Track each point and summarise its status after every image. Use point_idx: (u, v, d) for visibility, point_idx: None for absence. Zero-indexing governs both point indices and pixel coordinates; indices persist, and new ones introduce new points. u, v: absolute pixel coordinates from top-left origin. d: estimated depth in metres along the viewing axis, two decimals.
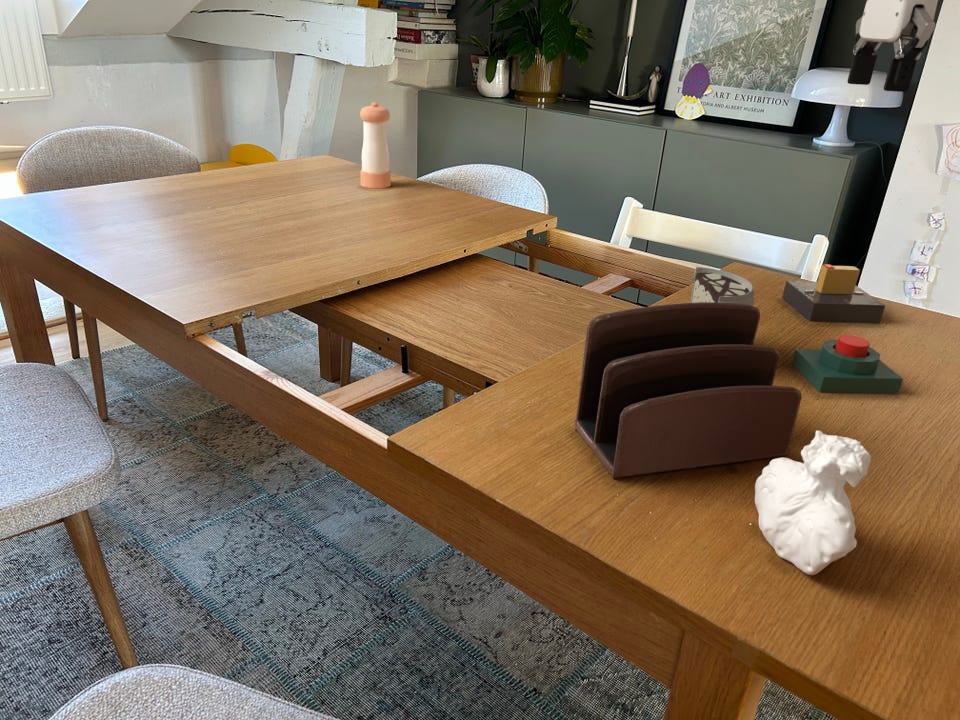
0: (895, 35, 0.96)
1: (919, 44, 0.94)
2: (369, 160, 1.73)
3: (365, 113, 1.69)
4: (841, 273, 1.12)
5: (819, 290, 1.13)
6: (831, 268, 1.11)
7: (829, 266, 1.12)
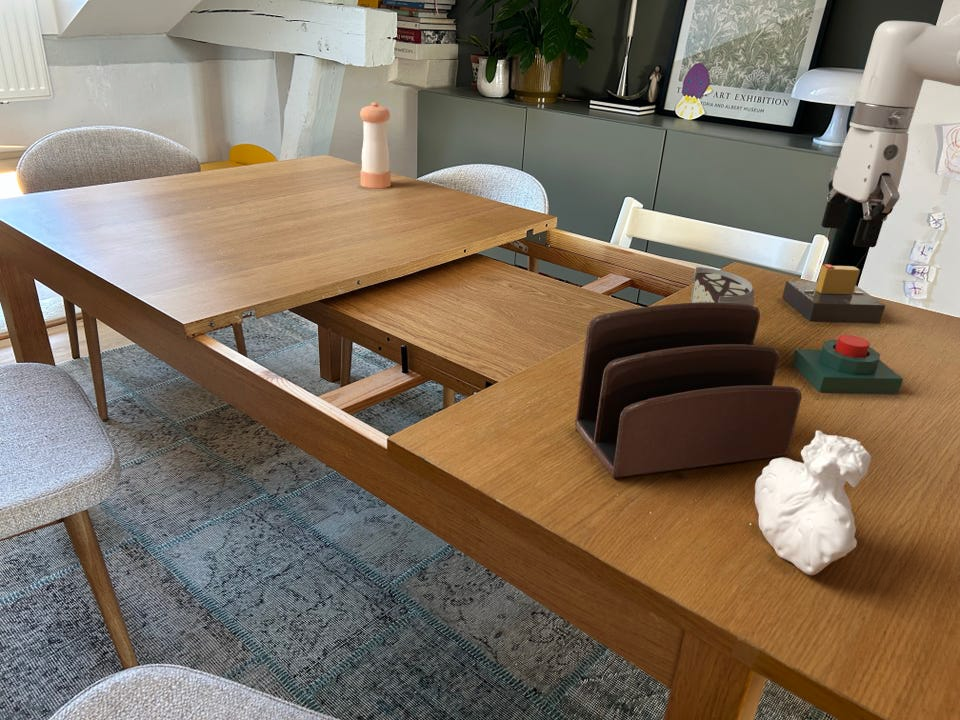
0: (863, 198, 1.03)
1: (885, 210, 1.01)
2: (369, 160, 1.73)
3: (365, 113, 1.69)
4: (841, 273, 1.12)
5: (819, 290, 1.13)
6: (831, 268, 1.11)
7: (829, 266, 1.12)
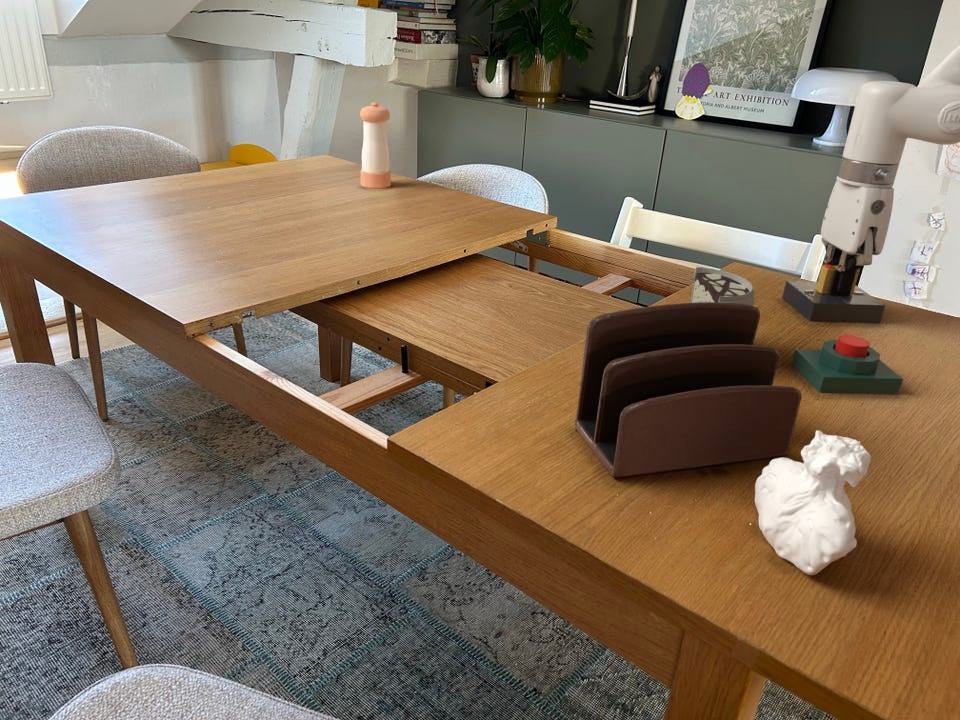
0: (852, 250, 1.06)
1: (856, 265, 1.08)
2: (369, 160, 1.73)
3: (365, 113, 1.69)
4: None
5: (819, 290, 1.13)
6: (831, 268, 1.11)
7: (829, 266, 1.12)
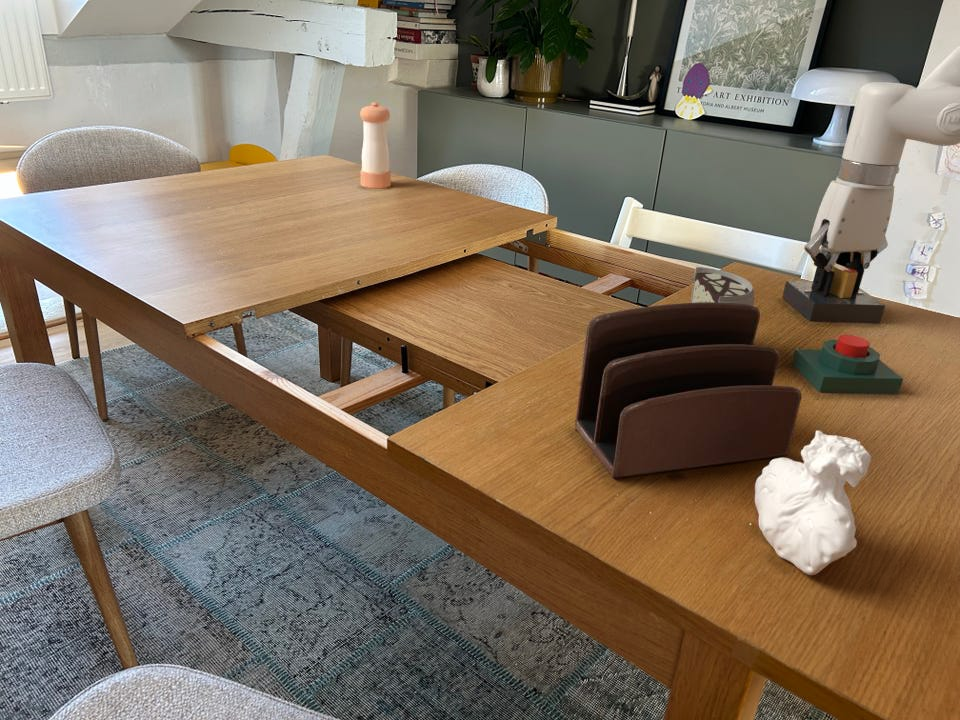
0: (880, 245, 1.10)
1: None
2: (369, 160, 1.73)
3: (365, 113, 1.69)
4: None
5: (848, 295, 1.12)
6: None
7: (852, 270, 1.10)
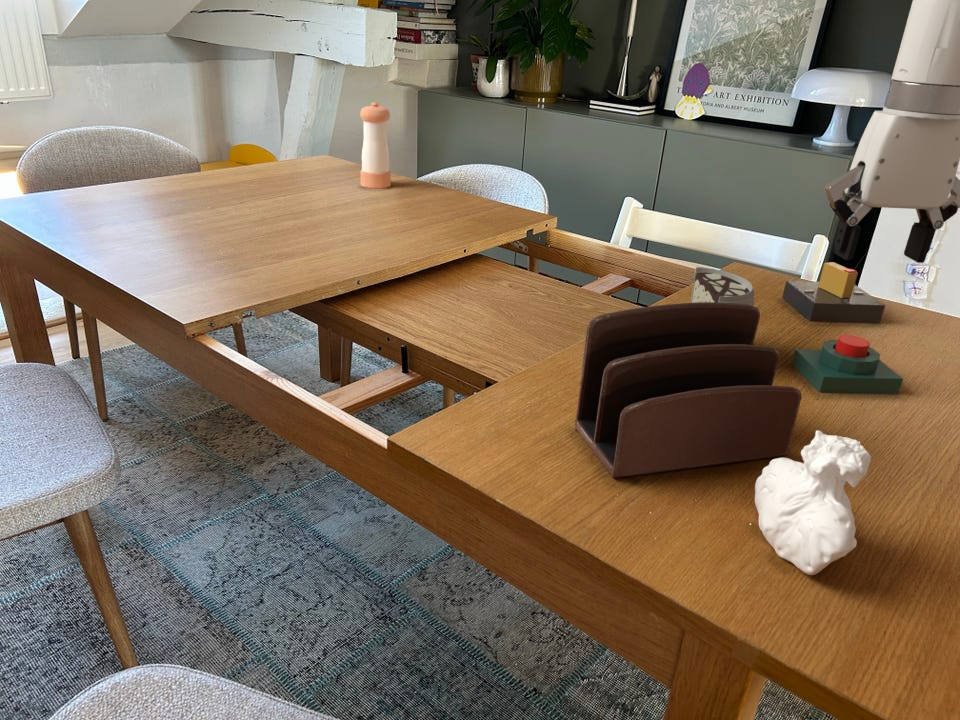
0: (944, 202, 0.82)
1: None
2: (369, 160, 1.73)
3: (365, 113, 1.69)
4: None
5: (848, 295, 1.12)
6: None
7: (852, 270, 1.10)
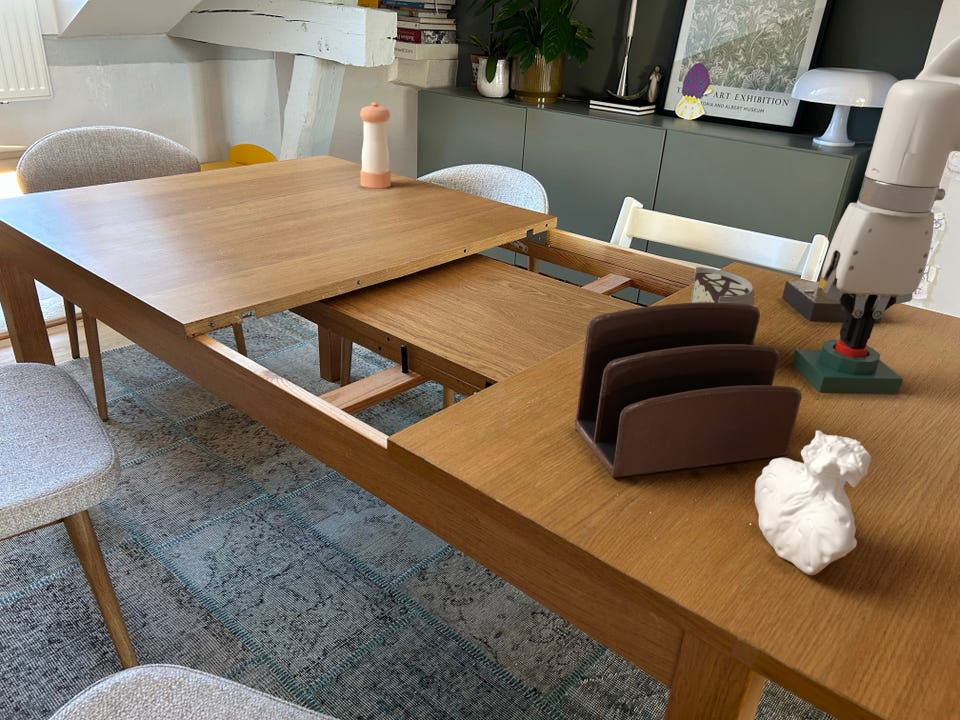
0: (915, 289, 0.86)
1: None
2: (369, 160, 1.73)
3: (365, 113, 1.69)
4: None
5: None
6: None
7: None
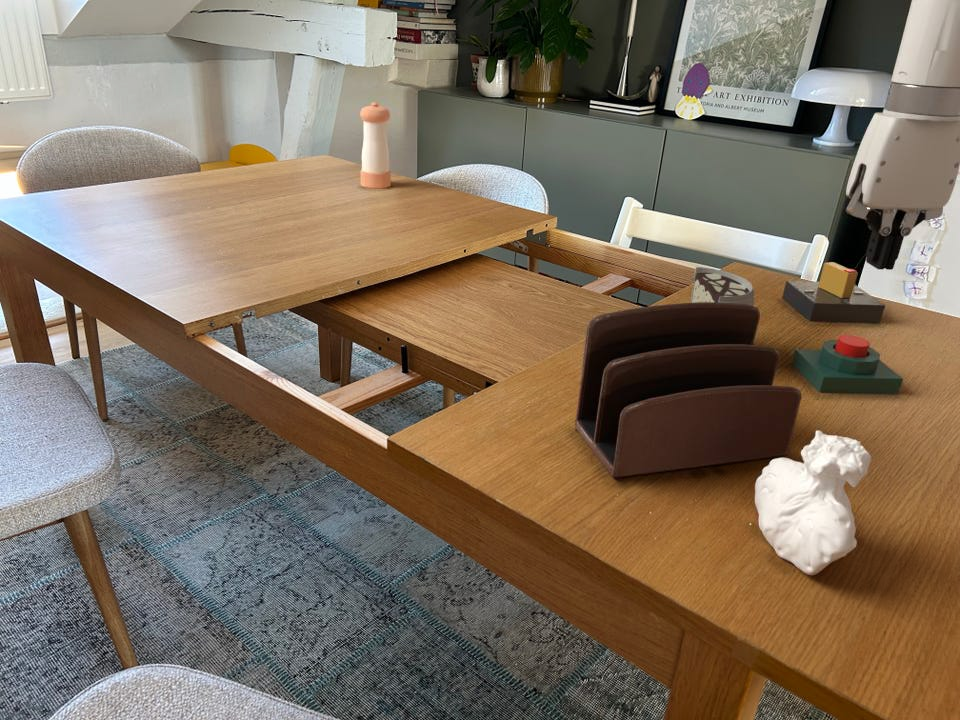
0: (946, 203, 0.82)
1: None
2: (369, 160, 1.73)
3: (365, 113, 1.69)
4: None
5: (848, 295, 1.12)
6: None
7: (852, 270, 1.10)
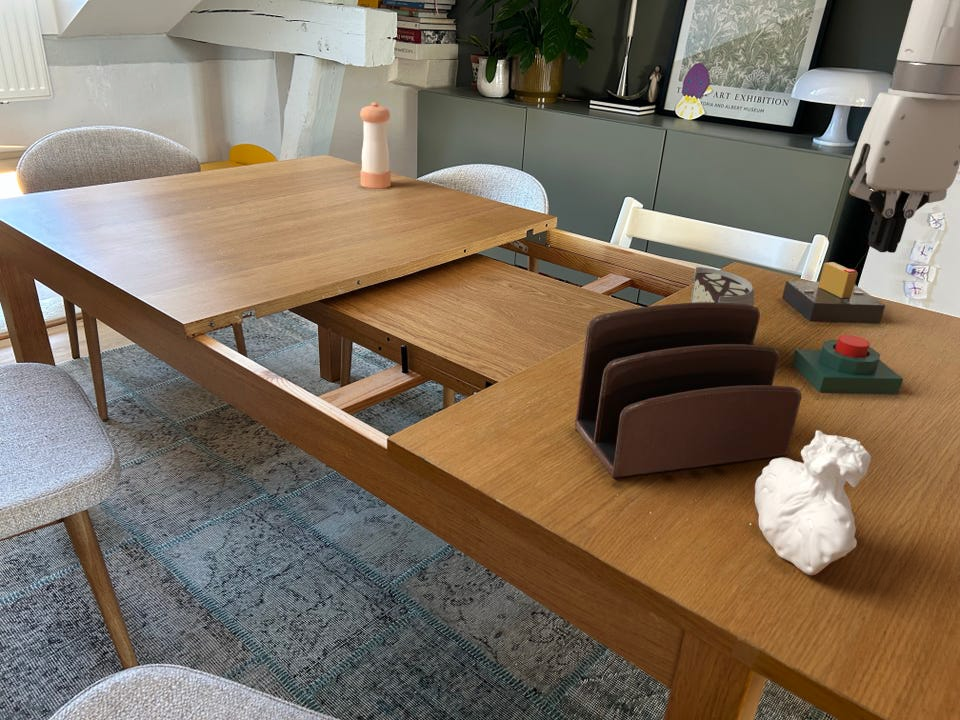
0: (950, 185, 0.81)
1: None
2: (369, 160, 1.73)
3: (365, 113, 1.69)
4: None
5: (848, 295, 1.12)
6: None
7: (852, 270, 1.10)
